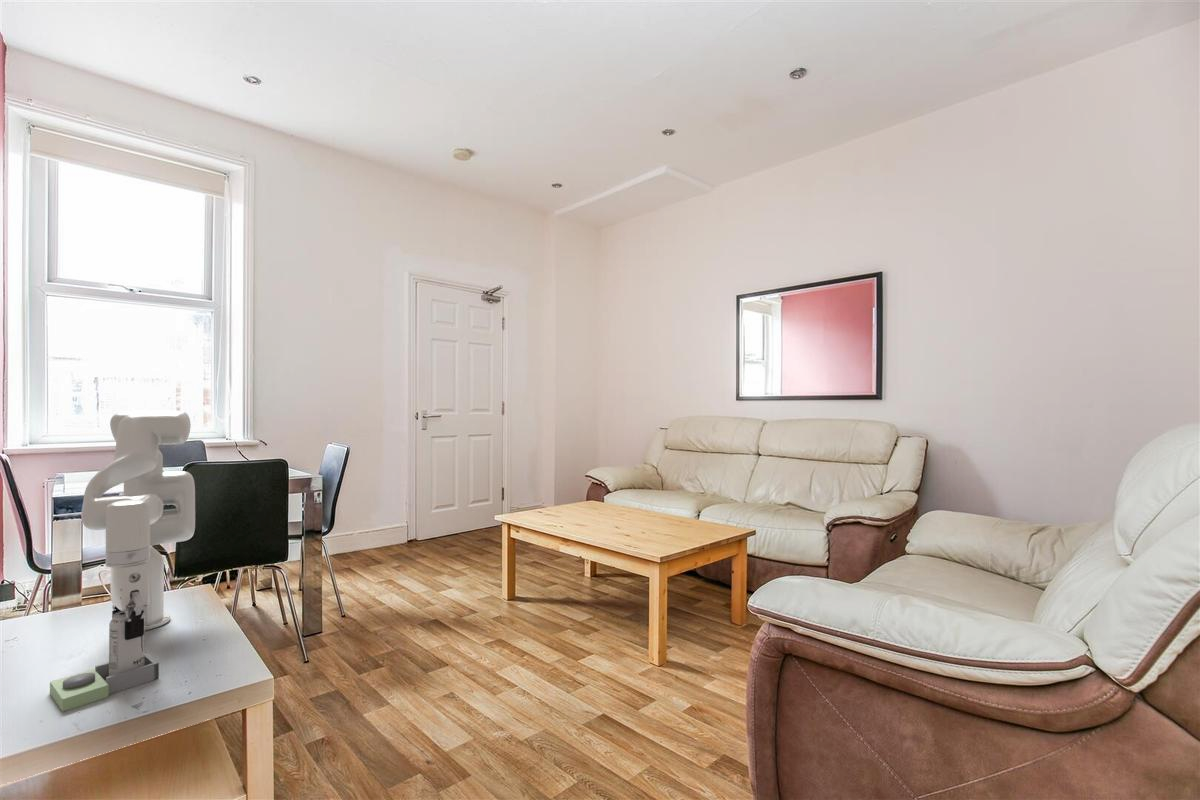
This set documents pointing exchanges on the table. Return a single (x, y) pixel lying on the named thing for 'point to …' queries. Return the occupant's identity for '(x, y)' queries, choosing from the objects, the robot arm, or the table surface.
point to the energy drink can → (124, 646)
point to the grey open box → (99, 683)
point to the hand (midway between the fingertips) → (127, 631)
